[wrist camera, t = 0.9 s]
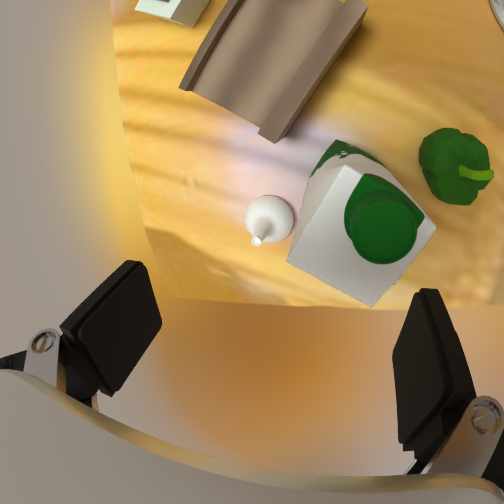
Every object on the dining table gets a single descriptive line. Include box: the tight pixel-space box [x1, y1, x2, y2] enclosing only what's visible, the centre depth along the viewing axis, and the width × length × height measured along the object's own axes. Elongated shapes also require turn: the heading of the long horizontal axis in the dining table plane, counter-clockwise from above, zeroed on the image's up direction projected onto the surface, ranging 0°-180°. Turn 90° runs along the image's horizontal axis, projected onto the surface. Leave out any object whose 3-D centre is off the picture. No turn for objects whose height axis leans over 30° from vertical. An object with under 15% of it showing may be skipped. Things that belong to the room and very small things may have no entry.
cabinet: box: [134, 0, 210, 28], centre depth 22 cm, size 5×6×7 cm
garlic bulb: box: [245, 196, 293, 246], centre depth 34 cm, size 6×6×8 cm
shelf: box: [179, 0, 369, 144], centre depth 24 cm, size 13×18×7 cm
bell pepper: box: [419, 128, 494, 206], centre depth 23 cm, size 8×8×10 cm
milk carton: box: [286, 140, 436, 307], centre depth 24 cm, size 9×9×20 cm
